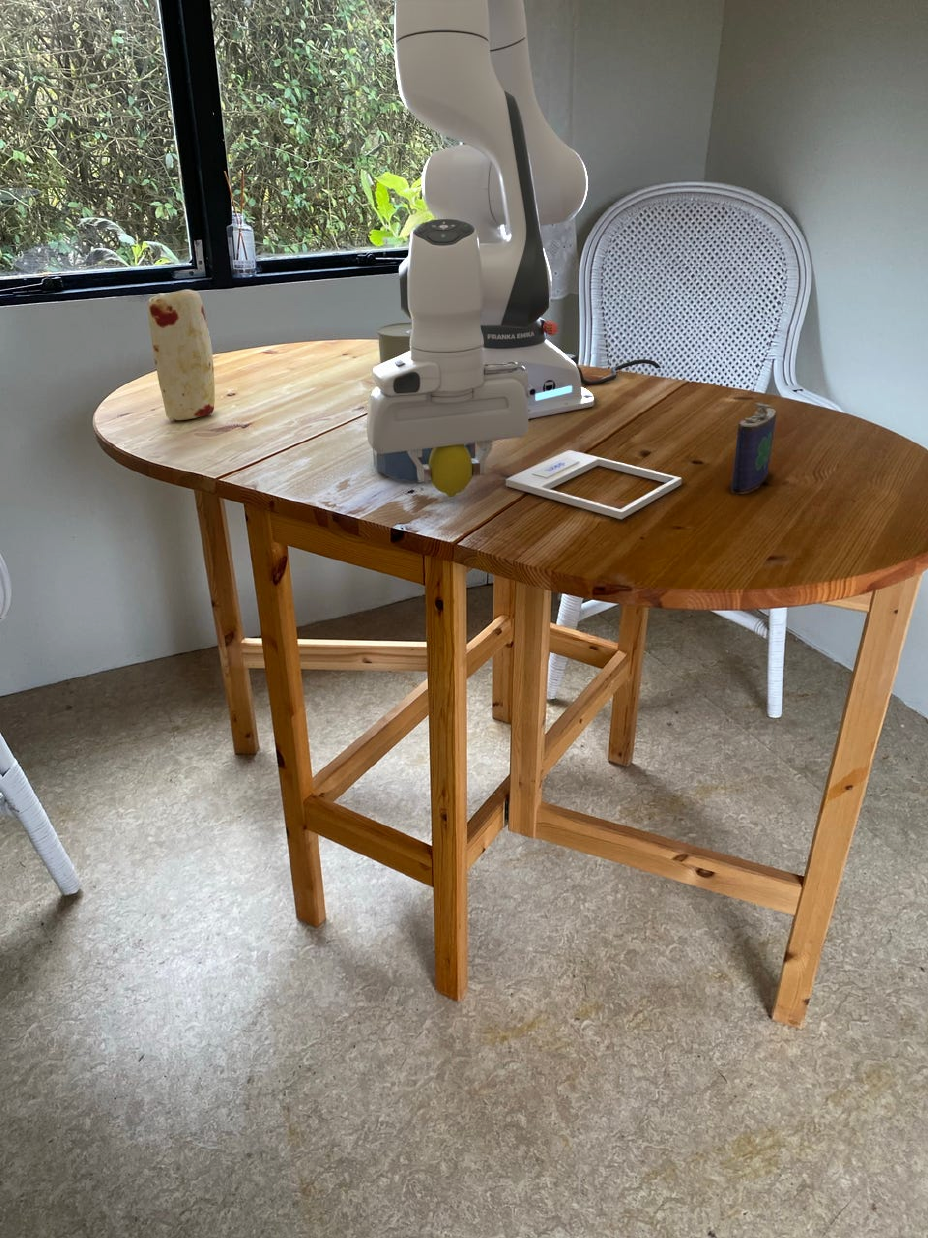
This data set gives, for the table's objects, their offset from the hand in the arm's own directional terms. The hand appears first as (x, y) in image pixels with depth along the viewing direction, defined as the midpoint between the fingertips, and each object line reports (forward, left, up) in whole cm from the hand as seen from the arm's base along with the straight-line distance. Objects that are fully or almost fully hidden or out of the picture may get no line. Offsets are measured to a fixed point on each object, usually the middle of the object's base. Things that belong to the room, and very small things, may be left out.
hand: (450, 477), depth 117 cm
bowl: (0, -13, -3) cm, 13 cm away
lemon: (0, 0, -3) cm, 3 cm away
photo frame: (-19, +2, -3) cm, 19 cm away
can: (-12, -68, -3) cm, 69 cm away
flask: (-39, +8, -3) cm, 40 cm away
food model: (+30, -49, -3) cm, 57 cm away
